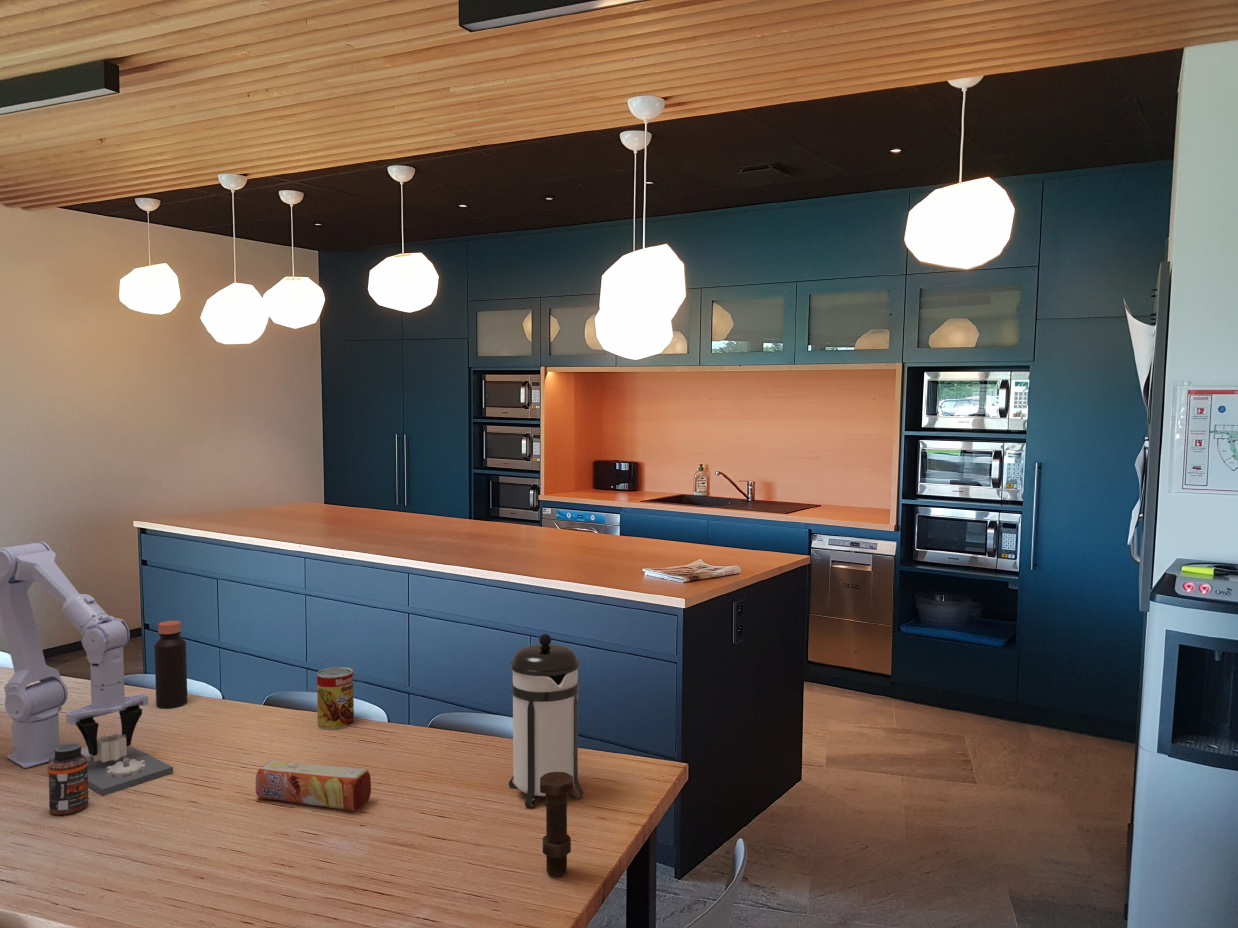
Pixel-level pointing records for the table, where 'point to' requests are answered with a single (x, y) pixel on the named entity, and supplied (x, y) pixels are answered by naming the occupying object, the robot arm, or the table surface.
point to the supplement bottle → (68, 780)
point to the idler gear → (111, 747)
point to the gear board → (123, 771)
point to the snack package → (314, 785)
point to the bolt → (556, 821)
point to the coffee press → (544, 716)
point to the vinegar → (170, 666)
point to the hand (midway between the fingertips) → (109, 749)
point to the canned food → (335, 698)
